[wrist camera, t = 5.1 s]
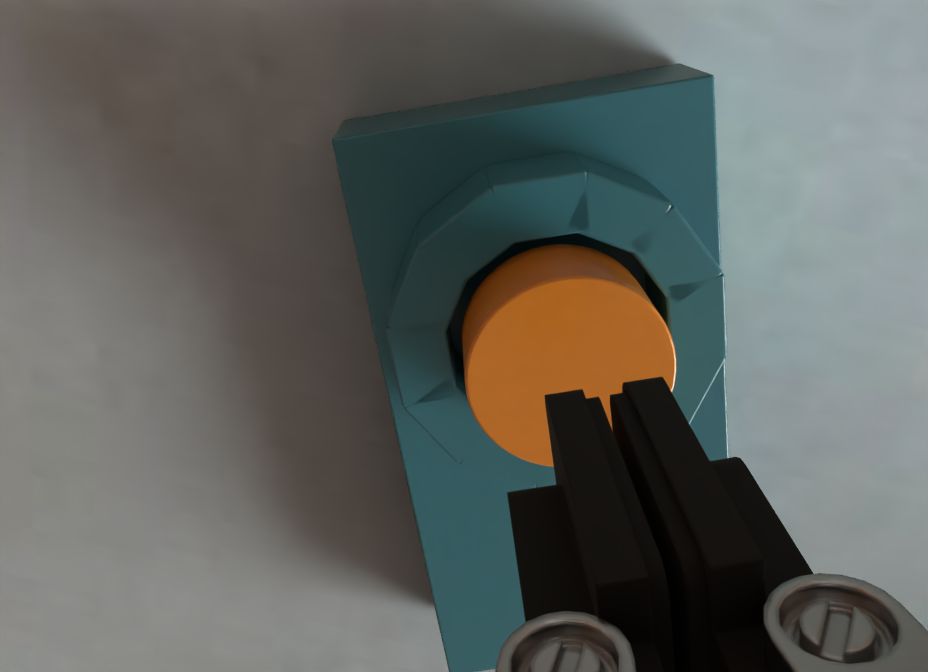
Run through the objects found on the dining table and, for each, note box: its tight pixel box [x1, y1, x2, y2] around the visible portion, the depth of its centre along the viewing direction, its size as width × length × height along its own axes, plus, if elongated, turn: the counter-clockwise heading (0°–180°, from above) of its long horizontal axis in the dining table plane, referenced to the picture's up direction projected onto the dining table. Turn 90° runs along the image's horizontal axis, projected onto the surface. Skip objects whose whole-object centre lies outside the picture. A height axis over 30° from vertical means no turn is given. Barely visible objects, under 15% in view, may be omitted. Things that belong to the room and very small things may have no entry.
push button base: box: [332, 64, 729, 672], centre depth 20 cm, size 15×8×4 cm, turn 9°
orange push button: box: [462, 244, 676, 467], centre depth 17 cm, size 4×4×2 cm
